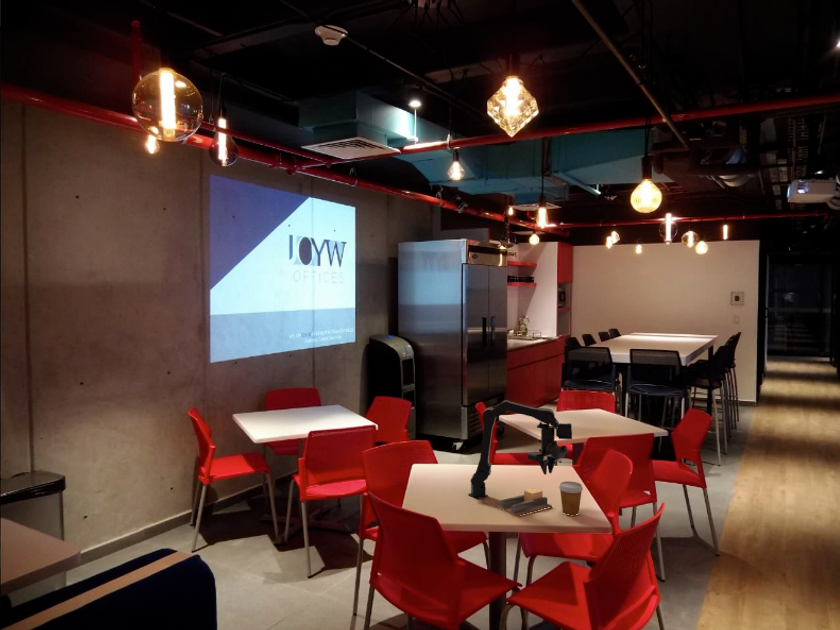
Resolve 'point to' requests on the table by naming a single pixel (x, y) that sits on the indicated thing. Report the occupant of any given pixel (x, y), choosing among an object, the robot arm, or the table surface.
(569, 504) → the disposable coffee cup
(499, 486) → the table surface
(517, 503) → the chute
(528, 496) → the block
